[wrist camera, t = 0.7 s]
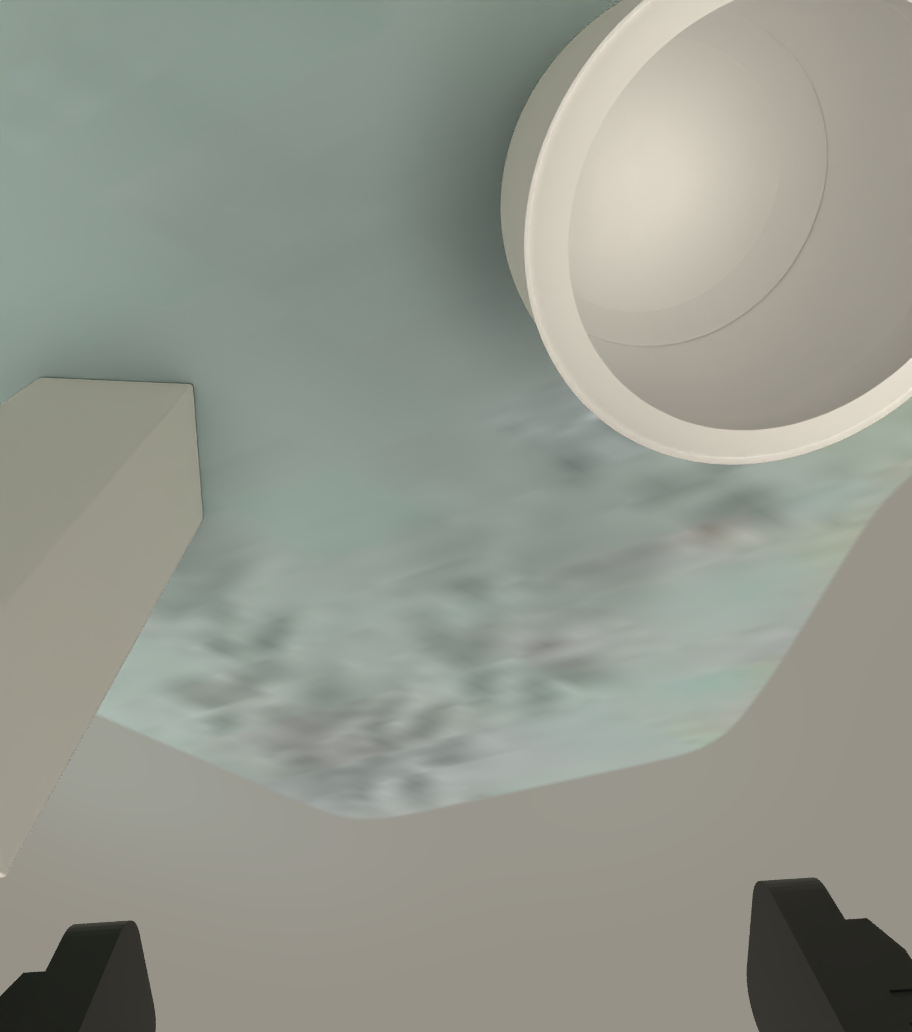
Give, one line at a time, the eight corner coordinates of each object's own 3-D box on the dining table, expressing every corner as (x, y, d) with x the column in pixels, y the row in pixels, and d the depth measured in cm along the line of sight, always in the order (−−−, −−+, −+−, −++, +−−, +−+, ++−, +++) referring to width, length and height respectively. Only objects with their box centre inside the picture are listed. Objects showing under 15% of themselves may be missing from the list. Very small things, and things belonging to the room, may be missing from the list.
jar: (612, 376, 34) (731, 551, 21) (422, 183, 31) (416, 241, 18) (832, 169, 31) (1141, 216, 18) (646, -70, 28) (850, -236, 14)
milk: (205, 518, 37) (-59, 1017, 17) (58, 513, 36) (-388, 1016, 16) (193, 379, 34) (-135, 774, 14) (35, 372, 34) (-528, 767, 14)
